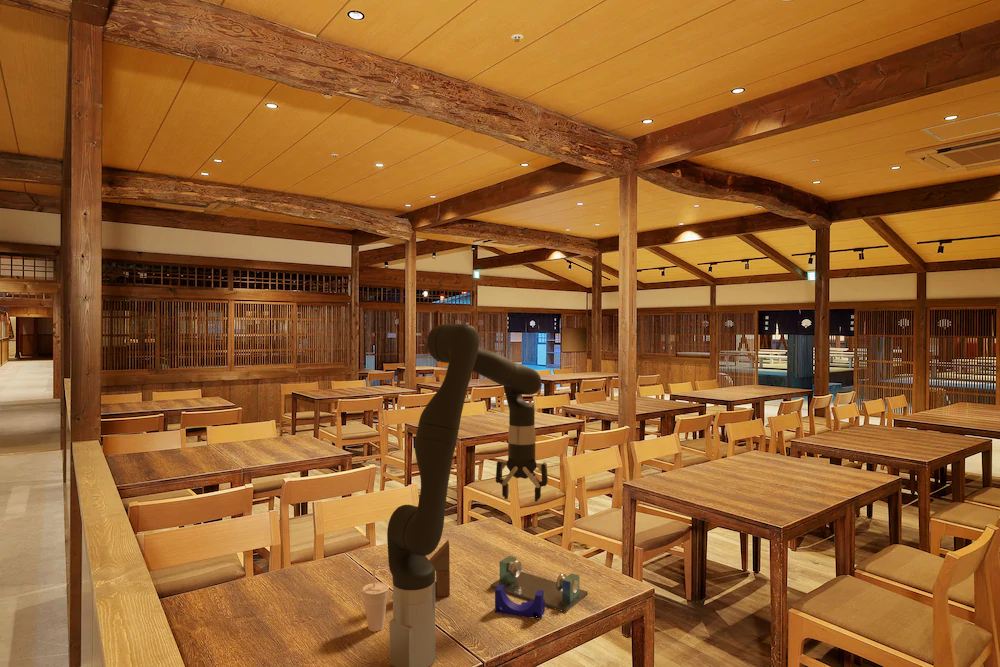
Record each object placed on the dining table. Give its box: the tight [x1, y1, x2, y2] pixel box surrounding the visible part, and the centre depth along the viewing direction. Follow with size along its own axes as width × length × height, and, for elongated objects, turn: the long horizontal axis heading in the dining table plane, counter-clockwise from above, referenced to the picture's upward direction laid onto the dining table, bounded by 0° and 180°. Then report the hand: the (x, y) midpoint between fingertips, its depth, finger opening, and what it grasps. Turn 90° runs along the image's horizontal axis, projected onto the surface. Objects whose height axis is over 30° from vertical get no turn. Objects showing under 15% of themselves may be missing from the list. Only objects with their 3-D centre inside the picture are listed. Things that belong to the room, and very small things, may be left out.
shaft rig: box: [490, 555, 589, 613], centre depth 154 cm, size 12×24×6 cm, turn 54°
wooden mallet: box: [428, 539, 451, 598], centre depth 152 cm, size 4×11×18 cm, turn 99°
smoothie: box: [361, 568, 390, 633], centre depth 136 cm, size 6×6×14 cm
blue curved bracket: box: [494, 585, 546, 620], centre depth 143 cm, size 12×4×6 cm, turn 73°
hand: (521, 499), depth 155 cm, fingers open, 8 cm apart
